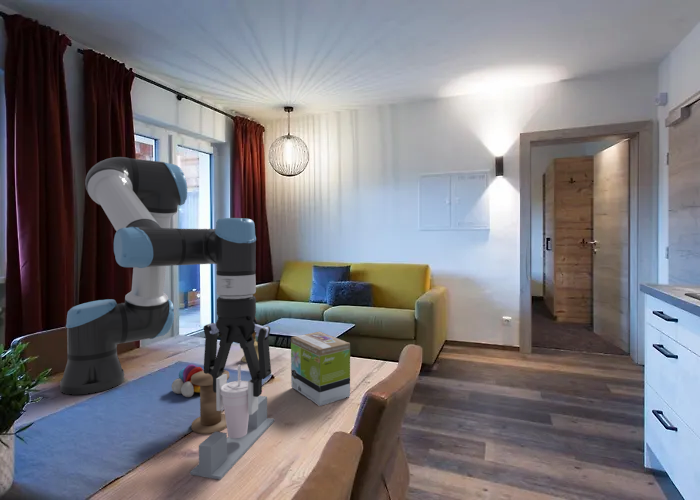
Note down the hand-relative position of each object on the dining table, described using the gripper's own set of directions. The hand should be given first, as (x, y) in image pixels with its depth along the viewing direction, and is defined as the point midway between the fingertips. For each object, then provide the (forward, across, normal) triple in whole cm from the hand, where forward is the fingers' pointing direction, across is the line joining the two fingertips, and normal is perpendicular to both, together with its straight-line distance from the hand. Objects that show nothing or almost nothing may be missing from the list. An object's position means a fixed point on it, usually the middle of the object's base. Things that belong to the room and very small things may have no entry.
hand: (237, 409), depth 78 cm
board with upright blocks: (+7, 0, 0) cm, 7 cm away
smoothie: (+5, 0, 0) cm, 5 cm away
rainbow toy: (+7, -26, +22) cm, 35 cm away
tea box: (+7, +8, +29) cm, 31 cm away
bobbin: (+7, -10, +6) cm, 14 cm away
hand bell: (+7, -23, +51) cm, 56 cm away
